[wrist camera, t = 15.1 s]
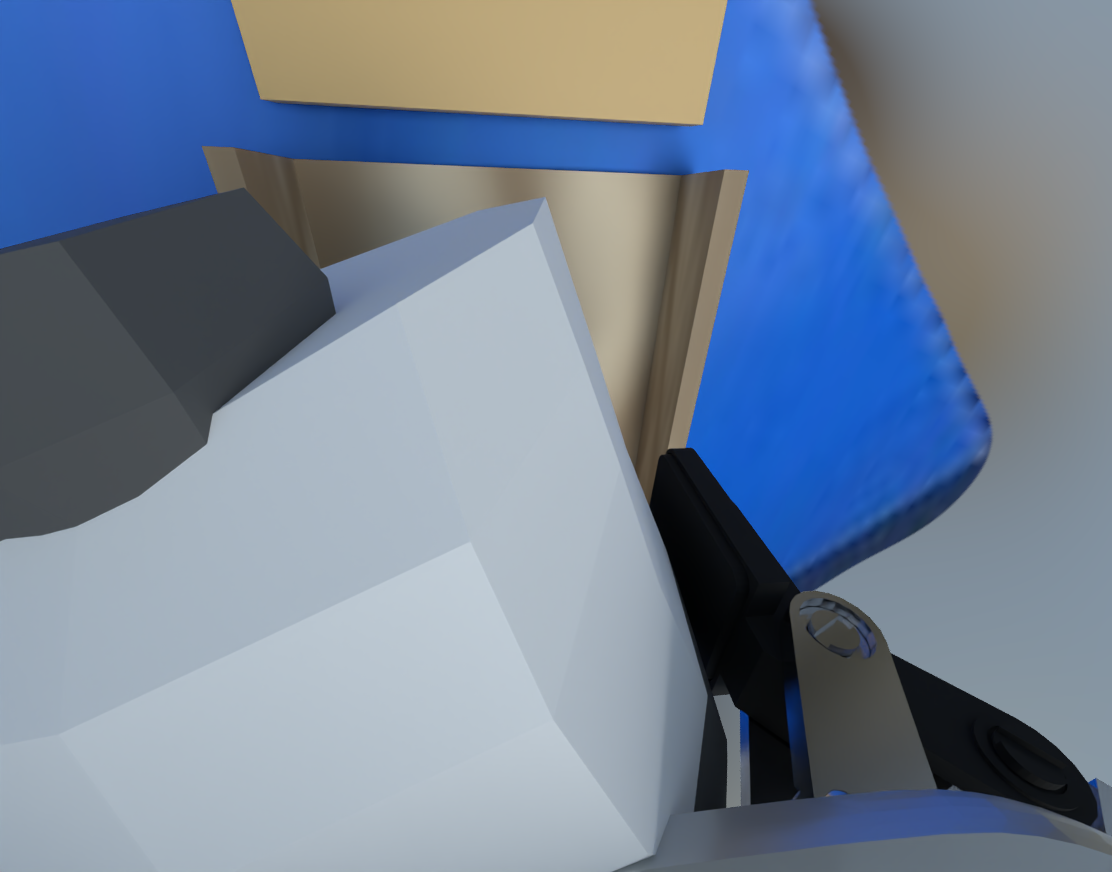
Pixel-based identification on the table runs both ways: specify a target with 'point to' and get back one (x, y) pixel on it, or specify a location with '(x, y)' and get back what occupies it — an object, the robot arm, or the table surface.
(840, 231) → the table surface
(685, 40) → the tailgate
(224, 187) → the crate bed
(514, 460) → the giant panda
